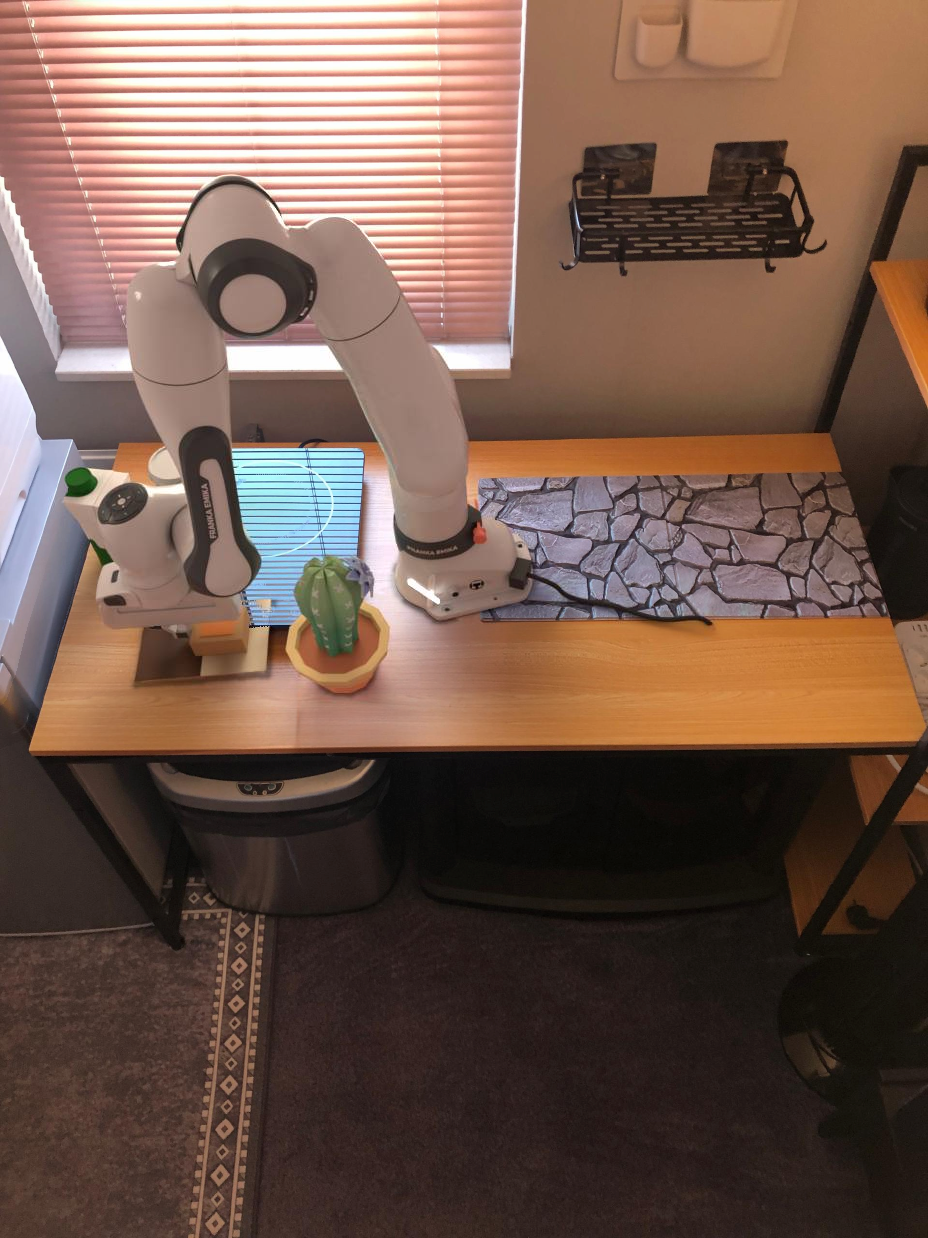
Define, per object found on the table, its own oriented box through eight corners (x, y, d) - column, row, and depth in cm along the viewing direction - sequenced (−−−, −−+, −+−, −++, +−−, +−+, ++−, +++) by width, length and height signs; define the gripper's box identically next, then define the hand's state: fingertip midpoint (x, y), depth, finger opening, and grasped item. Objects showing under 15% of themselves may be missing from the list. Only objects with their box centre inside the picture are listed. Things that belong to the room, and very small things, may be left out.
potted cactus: (376, 722, 139) (352, 621, 119) (279, 699, 142) (240, 596, 122) (409, 639, 147) (392, 531, 127) (318, 618, 150) (287, 510, 130)
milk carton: (120, 540, 163) (76, 454, 147) (169, 546, 161) (130, 460, 145) (98, 579, 158) (50, 495, 142) (148, 586, 156) (106, 501, 140)
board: (272, 602, 153) (271, 598, 152) (267, 675, 144) (265, 670, 144) (149, 612, 153) (146, 608, 152) (137, 685, 144) (134, 681, 144)
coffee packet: (250, 618, 150) (245, 604, 147) (247, 652, 146) (241, 639, 143) (199, 622, 150) (193, 608, 147) (195, 656, 146) (188, 643, 143)
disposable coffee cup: (216, 530, 163) (197, 480, 153) (162, 531, 163) (139, 481, 154) (225, 490, 169) (207, 439, 159) (172, 491, 169) (151, 441, 159)
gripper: (232, 556, 137) (253, 613, 149) (91, 566, 137) (123, 623, 148) (228, 590, 134) (250, 646, 145) (84, 600, 134) (116, 656, 145)
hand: (184, 634), depth 147 cm, fingers closed
